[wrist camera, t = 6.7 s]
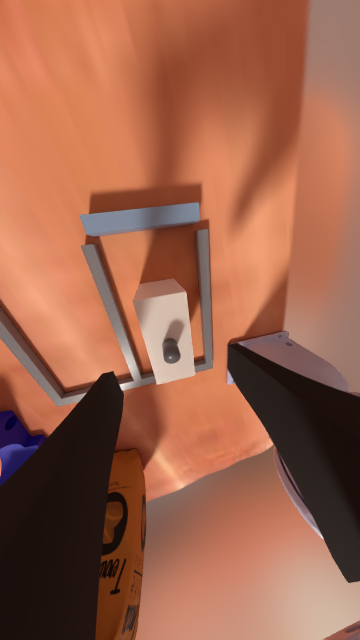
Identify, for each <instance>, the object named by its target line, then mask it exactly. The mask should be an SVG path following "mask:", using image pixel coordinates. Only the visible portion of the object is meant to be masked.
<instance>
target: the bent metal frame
mask: <svg viewBox="0 0 360 640" xmlns="http://www.w3.org/2000/svg"><path fill="white" fill-rule="evenodd" d="M195 238H196V252H197V266H198V280H199V294H200V309H201V323H202V337H203V351H204V360H201V361H197V362H194V367H195V372H199V371H203V370H207V369H211V368H213V354H212V325H211V297H210V268H209V239H208V229H203V230H197V231H195ZM81 248H82V250H83V253H84V255H85V258H86V260H87V263H88V266H89V268H90V271H91V273H92V276H93V278H94V281H95V283H96V286H97V288H98V291H99V293H100V296H101V298H102V301H103V304H104V306H105V309H106V311H107V314H108V316H109V319H110V321H111V324H112V326H113V329H114V331H115V334H116V337H117V339H118V342H119V344H120V347H121V349H122V352H123V354H124V357H125V359H126V362H127V364H128V367H129V370H130V372H131V375H132V377H130V378H126V379H122V380H118V383H119V385H120V387H121V389H122V391H123V390H127V389H131V388H135V387H139V386H143V385H147V384H151V383H155V382H156V379H155V376H154V372H151V373H147V374H143V375H142V373H141V370H140V368H139V365H138V362H137V359H136V356H135V353H134V350H133V347H132V345H131V342H130V339H129V336H128V333H127V330H126V327H125V325H124V322H123V319H122V316H121V313H120V310H119V307H118V304H117V302H116V299H115V296H114V293H113V290H112V287H111V284H110V281H109V279H108V276H107V273H106V270H105V267H104V264H103V261H102V258H101V256H100V253H99V250H98V247H97V244H89V245H81ZM0 339H1V340H2V341H3V342H4V343H5V344H6V346H7V347H8V348H9V349H10V350H11V352H12V353H13V354H14V355H15V356H16V358H17V359H18V360H19V361H20V362H21V364H22V365H23V366H24V367H25V368H26V370H27V371H28V372H29V373H30V374H31V376H32V377H33V378H34V379H35V380H36V381H37V383H38V384H39V385H40V386H41V387H42V389H43V390H44V391H45V392H46V393H47V395H48V396H49V397H50V398H51V399H52V401H53V402H54V403H55V404H56V405H57V407H59V406H63V405H67V404H71V403H75V402H79V401H80V400H81V399H82V398H83V397H84V395H85V394H86V393H87V392H88V391H89V389H90V388H91V387H89V388H85V389H80V390H76V391H72V392H68V393H64V391H63V390H62V389H61V387H60V386H59V385H58V383H57V382H56V381H55V379H54V378H53V377H52V375H51V374H50V373H49V371H48V370H47V369H46V367H45V366H44V365H43V363H42V362H41V361H40V359H39V358H38V357H37V355H36V354H35V353H34V351H33V350H32V349H31V347H30V346H29V345H28V343H27V342H26V341H25V339H24V338H23V337H22V335H21V334H20V333H19V331H18V330H17V329H16V327H15V326H14V325H13V323H12V322H11V321H10V319H9V318H8V317H7V315H6V314H5V313H4V311H3V310H2V309H1V307H0Z"/></svg>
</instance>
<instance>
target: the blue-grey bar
mask: <svg viewBox="0 0 360 640" xmlns="http://www.w3.org/2000/svg"><path fill="white" fill-rule="evenodd" d="M79 216H80V218H81V221H82V224H83V226H84V229H85V232H86V234H87V235H90V236H93V237H95V236H103V235H111V234H119V233H127V232H135V231H143V230H151V229H159V228H167V227H175V226H183V225H191V224H195V223H197V222H198V221H200V212H199V202H196V203H186V204H177V205H168V206H159V207H150V208H140V209H131V210H122V211H113V212H103V213H94V214H85V215H79Z"/></svg>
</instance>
